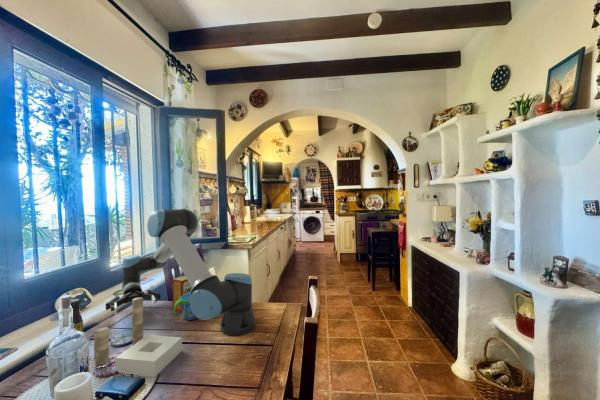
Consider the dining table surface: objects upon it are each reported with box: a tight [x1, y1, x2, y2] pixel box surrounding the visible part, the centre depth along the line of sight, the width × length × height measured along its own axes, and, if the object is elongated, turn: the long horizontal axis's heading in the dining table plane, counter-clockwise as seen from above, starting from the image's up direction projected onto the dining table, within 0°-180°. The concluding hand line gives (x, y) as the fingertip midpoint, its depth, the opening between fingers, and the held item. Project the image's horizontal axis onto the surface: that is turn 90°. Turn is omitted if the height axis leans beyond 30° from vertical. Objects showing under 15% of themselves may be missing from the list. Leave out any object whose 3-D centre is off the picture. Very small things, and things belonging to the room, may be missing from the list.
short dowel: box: [93, 334, 96, 360], centre depth 90 cm, size 4×4×8 cm
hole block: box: [114, 334, 183, 378], centre depth 87 cm, size 14×14×5 cm
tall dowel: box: [131, 297, 144, 346], centre depth 97 cm, size 4×4×18 cm
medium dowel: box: [95, 326, 110, 368], centre depth 85 cm, size 4×4×12 cm
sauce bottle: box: [70, 298, 84, 333], centre depth 90 cm, size 6×6×20 cm
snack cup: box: [173, 293, 198, 321], centre depth 120 cm, size 16×10×10 cm
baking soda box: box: [172, 275, 192, 313], centre depth 132 cm, size 10×6×16 cm
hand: (135, 307), depth 105 cm, fingers open, 13 cm apart
